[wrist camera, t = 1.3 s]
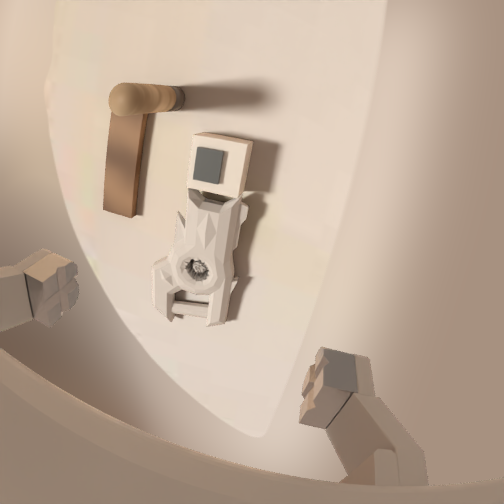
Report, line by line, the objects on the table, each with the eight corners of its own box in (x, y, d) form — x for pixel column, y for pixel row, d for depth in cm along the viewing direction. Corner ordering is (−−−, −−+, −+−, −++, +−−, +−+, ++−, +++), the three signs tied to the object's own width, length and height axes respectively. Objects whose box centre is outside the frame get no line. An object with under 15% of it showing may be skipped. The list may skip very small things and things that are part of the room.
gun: (147, 183, 28) (249, 204, 28) (163, 173, 31) (256, 192, 30) (149, 322, 38) (224, 345, 37) (160, 305, 41) (231, 326, 40)
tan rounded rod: (163, 85, 27) (111, 81, 19) (187, 88, 27) (139, 84, 19) (158, 109, 28) (106, 114, 20) (181, 113, 28) (133, 118, 20)
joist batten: (120, 88, 28) (115, 88, 27) (151, 91, 27) (147, 91, 27) (107, 206, 34) (103, 209, 33) (135, 215, 34) (131, 218, 33)
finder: (204, 132, 29) (191, 135, 26) (254, 141, 28) (246, 144, 25) (197, 179, 31) (184, 188, 28) (244, 190, 31) (236, 199, 28)
